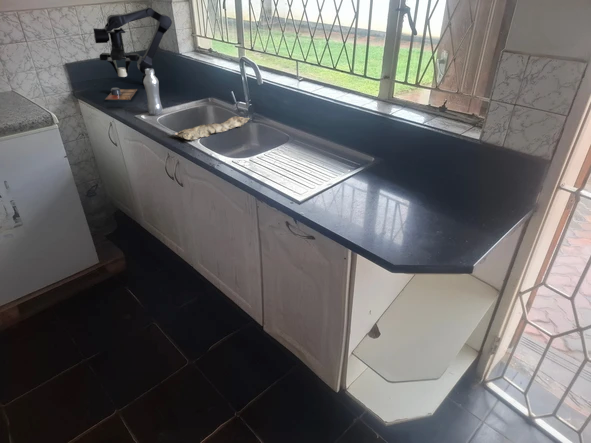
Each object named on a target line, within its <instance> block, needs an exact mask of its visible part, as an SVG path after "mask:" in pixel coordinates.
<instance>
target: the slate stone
mask: <svg viewBox="0 0 591 443" xmlns="http://www.w3.org/2000/svg"><path fill="white" fill-rule="evenodd" d="M120 89H121V88H120V87H111V89H110V93H111V94H112V95H120V94H121V91H120Z"/></svg>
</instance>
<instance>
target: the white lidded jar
mask: <svg viewBox="0 0 591 443" xmlns="http://www.w3.org/2000/svg"><path fill="white" fill-rule="evenodd" d="M117 68H118V70H117V72H118V74H117V76H118V77H120V78H125V77H128V74H127V73H126V67H124V66H123V67H117Z"/></svg>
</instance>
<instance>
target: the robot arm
mask: <svg viewBox="0 0 591 443" xmlns="http://www.w3.org/2000/svg"><path fill="white" fill-rule="evenodd" d="M148 17H151V18H152V19H153V20H155V21H156V25H155V30H154V33H153V35H152V37H151V40H150V42H149V44H148V46H147V48H146V51H145V53H144V54H143V56H141V55H140V54H138V53H137V52H135V53H134V52H130V53H129V54H126V51H125V45H124V44H125V43H124V40H123V34H125V33H126V30H124V29H123V26H125V25H126V24H128V23H131V22H134V21H135V22H136V21H138V20H141V19H146V18H148ZM172 23H173V21H172V18H171V17H170V16H168V15H166V14H164V13H163V14H161V13H159V12H157V11H156V10H154V9H153V8H152V7H149V6H147V7H146V6H145V7H144V8H141V9H138V10H134V11H131V12H127V13H120V14H119V13H118V14H109V15H107V18H106V24H105V25H104V28H96V27H94V28H93V38H94V43H95V44H108V43H109V41H110V44H111V45H110V47H111V50H110V52H101V53H100V54H99V61H107V63H110V65H111V66H112V67H113V69H114V71H115V73H116V74H117V75H118V72H117V70H118V68H119V67H118V64H117V61H118V62H119V61H122V60H123V59H124V60H125V61H124V63H125V69H126V73H127V75H128V74H129V70H130V66H131V63H132V62H136V63H137V65H136V66H137V69H138V71H139V72H140V73H142V78H141V81H142V86H144V83H143V81H144V78H145V76H146V74H145V69H152V66H153V59H154V57H155V54H156V53H157V50H158V47H159V46H160V43H161V41H162V39H163V37H164V34H166V33H167V32H168V30H169V29H170V28H171V26H172ZM154 73H155V74H154V75H155V76H156V72H155V71H154Z"/></svg>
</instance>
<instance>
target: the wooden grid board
mask: <svg viewBox="0 0 591 443" xmlns="http://www.w3.org/2000/svg"><path fill="white" fill-rule="evenodd" d="M119 89H120V91H121V94H120V95H112V94H111V92H110V93H109V94H108V95H107V96H106V97H105V98H104V101H105V100H108V101H109V100H110V101H111V100H113V101H114V100H117V101H118V100H119V101H120V100H121V101H122V100H123V101H124V100H127V101H129V100H130V101H131V99H132V98H133V97H134V95H135V94H136V92H137V91H138V88H119Z"/></svg>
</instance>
